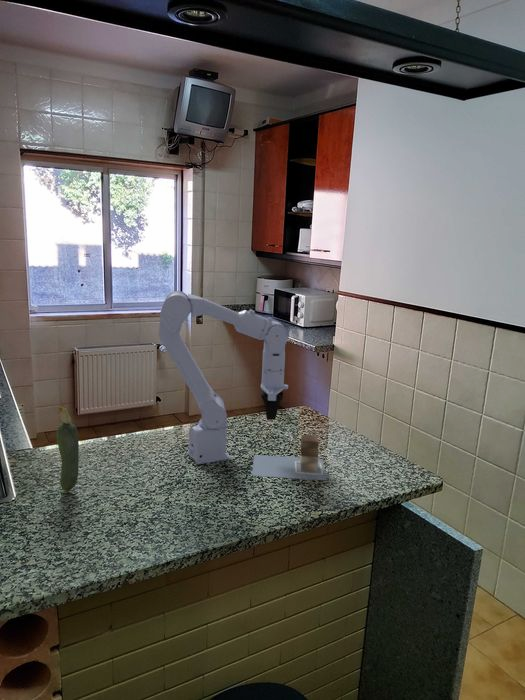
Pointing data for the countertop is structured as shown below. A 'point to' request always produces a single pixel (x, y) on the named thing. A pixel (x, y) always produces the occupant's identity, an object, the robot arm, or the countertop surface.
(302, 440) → the walnut block
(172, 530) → the countertop surface
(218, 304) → the robot arm
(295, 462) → the board
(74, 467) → the vegetable
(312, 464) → the maple block
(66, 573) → the countertop surface
